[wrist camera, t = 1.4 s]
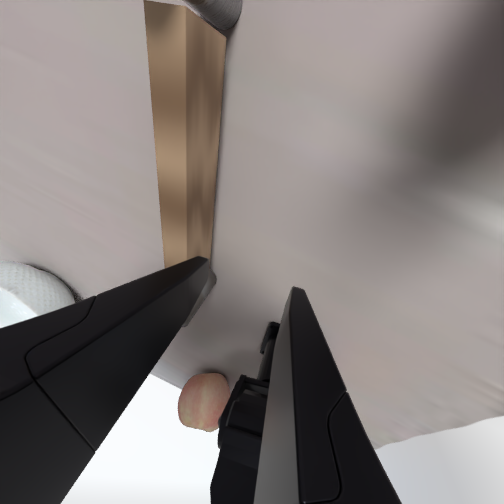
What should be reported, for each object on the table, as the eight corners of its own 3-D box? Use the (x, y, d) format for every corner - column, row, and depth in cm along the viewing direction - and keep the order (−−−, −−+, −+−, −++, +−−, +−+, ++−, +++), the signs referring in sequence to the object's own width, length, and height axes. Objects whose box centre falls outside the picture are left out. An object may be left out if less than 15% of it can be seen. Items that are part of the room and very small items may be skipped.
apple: (193, 375, 40) (167, 425, 33) (197, 354, 36) (169, 407, 29) (232, 393, 39) (213, 448, 33) (242, 374, 35) (223, 434, 28)
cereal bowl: (73, 328, 45) (35, 360, 39) (1, 266, 39) (-55, 291, 34) (114, 312, 36) (74, 349, 31) (30, 231, 31) (-37, 257, 25)
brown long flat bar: (215, 290, 26) (188, 330, 21) (192, 282, 26) (161, 320, 21) (240, 43, 13) (190, 2, 9) (196, 36, 14) (124, -7, 9)
